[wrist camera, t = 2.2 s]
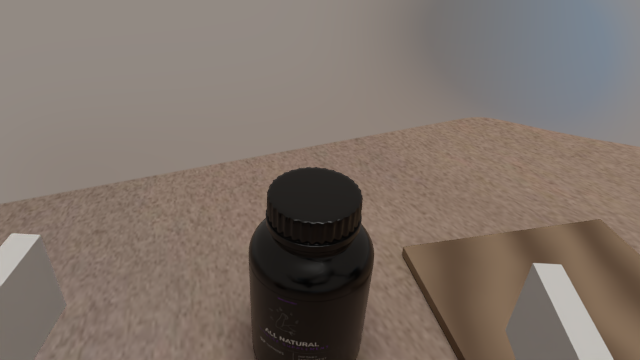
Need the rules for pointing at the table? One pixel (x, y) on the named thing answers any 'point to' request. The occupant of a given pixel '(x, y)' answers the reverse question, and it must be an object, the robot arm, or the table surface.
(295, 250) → the supplement bottle
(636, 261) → the board
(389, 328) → the table surface
